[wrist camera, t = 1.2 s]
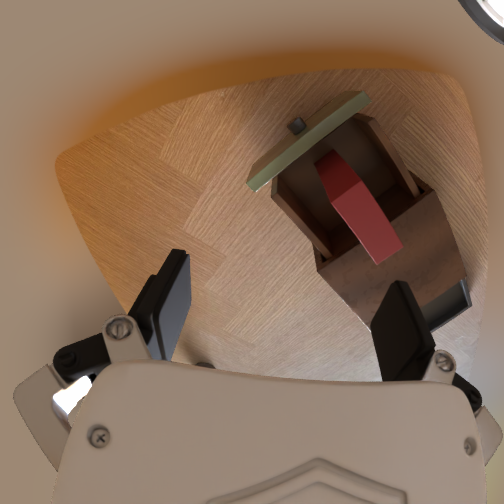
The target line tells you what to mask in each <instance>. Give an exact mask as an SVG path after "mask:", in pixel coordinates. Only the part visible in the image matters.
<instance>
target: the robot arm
mask: <svg viewBox="0 0 504 504" xmlns="http://www.w3.org/2000/svg"><path fill="white" fill-rule="evenodd" d="M477 2H478V3H479V4H480V6H481V7H482V8H483V10H484V11H485V12H486V13H487V14H488V15H489V16H490V17H491V18H492V19H493V20H494V21H495V22H497V23H498V24H499V25H501V26H502V27H504V0H477ZM190 306H191V277H190V255H189V254H186V251H185V250H180V249H172V250H171V252H170V254H169V255H168V257H167V259H166V260H165V262H164V264H163V265H162V267H161V269H160V270H159V272H158V274H157V275H153V274H152V275H151V276H150V277H149V278H148V280H147V282H146V283H145V285H144V287H143V289H142V290H141V292H140V294H139V295H138V297H137V299H136V301H135V302H134V304H133V306H132V308H131V309H130V311H129V313H128V315H125V314H118V315H114V316H112V317H110V318H109V319H107V320H106V321H105V323H104V324H103V327H102V333H99V334H97V335H94V336H91V337H89V338H86V339H84V340H81V341H78V342H76V343H73V344H70V345H68V346H65V347H63V348H61V349H60V350H59V351H58V352H56V354H55V356H54V359H53V363H52V364H51V365H50V366H48V364H46V365H45V366H43V367H42V368H41V369H39V370H38V371H36V372H35V373H34V374H33V375H31V376H30V377H28V378H27V379H26V380H25V381H23V382H22V383H20V384H19V385H18V386H17V387H16V388H15V390H14V393H13V398H14V402H15V404H16V406H17V408H18V410H19V412H20V414H21V416H22V417H23V419H24V421H25V423H26V425H27V427H28V428H29V430H30V432H31V434H32V435H33V437H34V439H35V440H36V442H37V443H38V445H39V446H40V448H41V450H42V451H43V453H44V454H45V455H46V457H47V458H48V460H49V461H50V463H51V464H52V465H53V467H54V468H55V469H56V471H57V472H58V474H57V478H56V482H55V487H54V491H53V496H52V502H51V504H487V493H486V476H485V466H486V465H487V463H488V462H489V460H490V459H491V457H492V456H493V454H494V453H495V451H496V450H497V448H498V446H499V445H500V443H501V441H502V438H503V433H502V430H501V428H500V426H499V425H498V423H497V422H496V421H495V419H494V418H493V416H492V415H491V414H490V412H489V411H488V410H487V409H486V407H485V406H483V407H482V406H481V405H482V397H481V394H480V393H479V391H478V390H477V389H476V388H475V387H474V386H472V385H471V384H470V383H469V382H467V381H466V380H465V379H464V378H462V377H461V376H460V375H458V374H457V373H456V372H455V371H456V362H455V360H454V358H453V357H452V355H451V354H450V353H448V352H447V351H445V350H437V351H435V349H434V347H435V346H436V344H435V342H434V339H433V337H432V334H431V332H430V330H429V327H428V325H427V323H426V320H425V318H424V316H423V314H422V312H421V309H420V307H419V305H418V303H417V301H416V299H415V297H414V295H413V292H412V290H411V288H410V286H409V284H408V283H407V282H406V281H400V280H395V281H394V283H391V284H390V286H389V288H388V290H387V292H386V294H385V296H384V298H383V300H382V302H381V304H380V306H379V308H378V310H377V312H376V313H375V315H374V317H373V319H372V321H371V324H370V330H371V334H372V338H373V342H374V346H375V350H376V354H377V358H378V362H379V367H380V371H381V376H382V381H383V382H346V381H319V380H303V379H290V378H279V377H270V376H261V375H252V374H245V373H238V372H231V371H225V370H218V369H212V368H206V367H200V366H194V365H189V364H184V363H177V362H171V358H172V355H173V352H174V350H175V347H176V344H177V341H178V338H179V336H180V333H181V330H182V327H183V325H184V322H185V319H186V316H187V314H188V311H189V308H190ZM80 398H84V400H83V402H82V404H81V406H80V409H79V411H78V413H77V416H76V418H75V421H74V423H73V426H72V427H71V426H70V424H69V422H68V414H69V411H70V410H71V409H72V408H73V407H74V406H76V405H77V403H76V402H77V401H78V400H80Z"/></svg>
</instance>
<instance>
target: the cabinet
mask: <svg viewBox="0 0 504 504" xmlns="http://www.w3.org/2000/svg"><path fill="white" fill-rule="evenodd" d="M407 170H408V169H407ZM408 172H409V173H410V175H411V177H412V179H413V181H414V182H415V184H416V186H417V188H418V190H419V192H420V194H421V195H420V196H419V197H417V198H416V199H415V200H413V201H412V202H410V203H409V204H408V205H406V206H405V207H404V208H402V209H401V210H400V211H398V212H397V213H395V214H394V215H393V216H391V217H390V218H388V221H389V222H390V224H391V225H392V227H393V229H394V230H395V232H396V234H397V235H398V237H399V239H400V241H401V242H402V244H403V246H404V247H403V248H401V249H400V250H398V251H397V252H395V253H394V254H392V255H391V256H389V257H388V258H386V259H385V260H383V261H382V262H380V263H379V264H376V263H375V262H374V260H373V259H372V257H371V256H370V254H369V253H368V252H367V250H366V249H365V247H364V246H363V245H362V243H361V242H360V241H359V239H358V240H357V241H355V242H354V243H352V244H351V245H350V246H348V247H347V248H345V249H344V250H342V251H341V252H339V253H338V254H336V255H335V256H333V257H332V258H330V259H329V260H327V259H326V258H325V257H324V256H323V255H322V253H321V252H320V251H319V250H318V249H317V248H316V247H315V246H314V244H313V243H312V244H313V250H314V256H315V262H316V267H317V272H318V273H319V274H320V275H321V277H322V278H323V279H324V280H325V281H326V282H327V283H328V284H329V285H330V286H331V287H332V289H333V290H334V291H335V292H336V293H337V294H338V295H339V296H340V297H341V298H342V300H343V301H344V302H345V303H346V304H347V305H348V306H349V307H350V308H351V310H352V311H353V312H354V313H355V314H356V315H357V316H358V317H359V319H360V320H361V321H362V322H363V323H364V324H365V325H366V327H367V328H368V329H369V330H370V324H371V321H372V319H373V317H374V315H375V313H376V312H377V310H378V308H379V306H380V304H381V302H382V300H383V298H384V296H385V294H386V292H387V290H388V288H389V286H390V284H391V283H394V281H395V280H400V281H406V282H407V283H408V284H409V286H410V288H411V290H412V292H413V295H414V297H415V299H416V301H417V303H418V305H419V307H420V308H421V307H423V306H424V305H426V304H427V303H429V302H430V301H432V300H434V299H435V298H437V297H438V296H439V295H441V294H442V293H444V292H445V291H447V290H448V289H450V288H451V287H452V286H454V285H455V284H457V283H458V282H459V281H461V280H462V279H463V278H465V277H466V276H467V275H466V272H465V268H464V265H463V262H462V259H461V256H460V253H459V250H458V247H457V244H456V241H455V238H454V235H453V233H452V230H451V228H450V225H449V222H448V220H447V217H446V215H445V213H444V210H443V208H442V206H441V203H440V201H439V199H438V197H437V194H436V192H435V190H434V189H432V188H431V187H430V186H429V185H428V184H426V183H425V182H424V181H422V180H421V179H420V178H419V177H417V176H416V175H415V174H413V173H412V172H410V171H409V170H408ZM370 331H371V330H370Z"/></svg>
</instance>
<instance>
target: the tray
mask: <svg viewBox="0 0 504 504" xmlns="http://www.w3.org/2000/svg"><path fill="white" fill-rule="evenodd" d="M471 306H472V302H471V298H470V294H469V290H468V287H467V283H466V280H465V278H463V279H462V280H461V281H459V282H458V283H457V284H455V285H454V286H452V287H451V288H450V289H448V290H447V291H445V292H444V293H442V294H441V295H439V296H438V297H437V298H435V299H434V300H432V301H430V302H429V303H427V304H426V305H424V306H423V307H421V308H420V309H421V312H422V314H423V316H424V318H425V320H426V323H427V325H428V327H429V330H430V332H431V333H432V332H434V331H435V330H437V329H438V328H440V327H442V326H443V325H445V324H446V323H448V322H449V321H451V320H452V319H454V318H455V317H457V316H458V315H460V314H461V313H463V312H464V311H465V310H467V309H468V308H470V307H471Z"/></svg>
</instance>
